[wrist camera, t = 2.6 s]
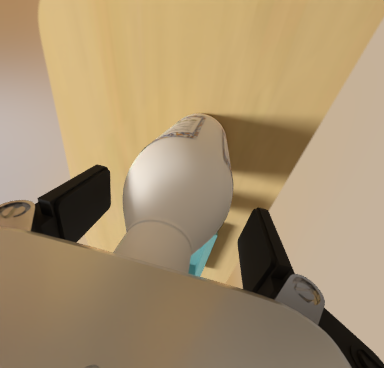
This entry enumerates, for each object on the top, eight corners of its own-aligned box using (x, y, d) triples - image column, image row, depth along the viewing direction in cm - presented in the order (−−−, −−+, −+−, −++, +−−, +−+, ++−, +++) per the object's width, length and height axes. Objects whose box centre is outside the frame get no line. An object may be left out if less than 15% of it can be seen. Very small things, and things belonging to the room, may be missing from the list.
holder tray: (146, 202, 28) (138, 214, 25) (217, 221, 27) (217, 235, 25) (141, 249, 34) (135, 263, 31) (200, 265, 34) (198, 280, 31)
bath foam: (162, 147, 23) (-23, 337, 5) (191, 99, 19) (-48, 192, 2) (204, 176, 24) (164, 407, 7) (238, 136, 20) (339, 389, 3)
